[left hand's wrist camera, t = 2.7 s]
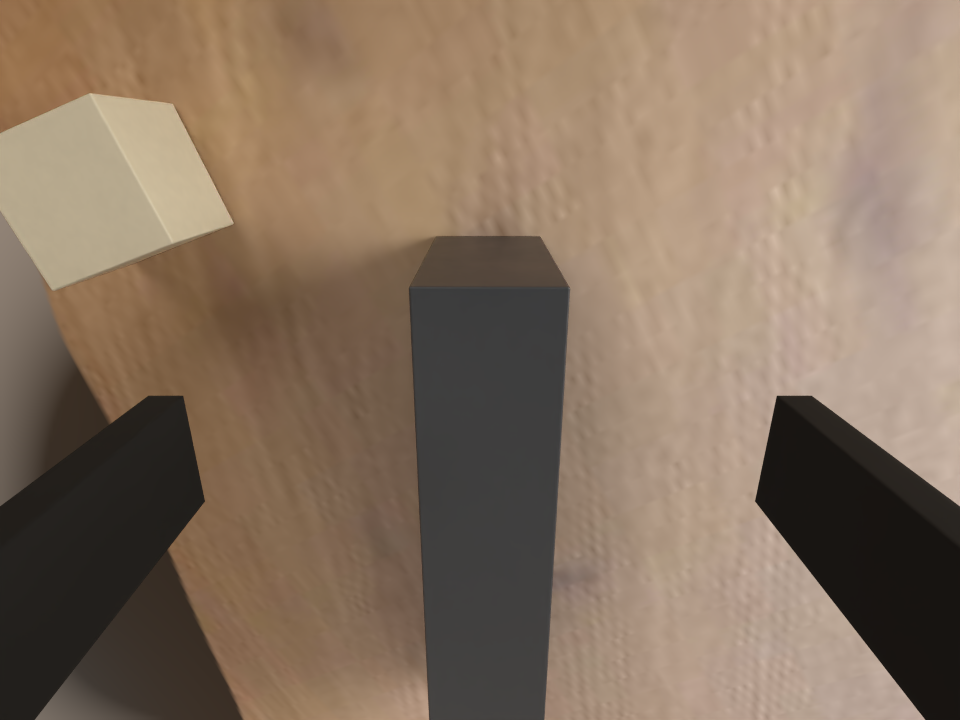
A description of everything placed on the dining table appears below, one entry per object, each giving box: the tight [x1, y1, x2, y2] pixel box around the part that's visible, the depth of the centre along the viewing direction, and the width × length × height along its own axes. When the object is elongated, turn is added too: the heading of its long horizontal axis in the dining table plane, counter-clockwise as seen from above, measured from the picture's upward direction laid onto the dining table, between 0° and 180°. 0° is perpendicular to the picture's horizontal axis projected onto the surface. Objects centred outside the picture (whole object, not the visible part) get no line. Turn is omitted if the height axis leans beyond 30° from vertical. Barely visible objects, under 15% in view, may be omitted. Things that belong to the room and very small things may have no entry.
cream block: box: [0, 93, 234, 291], centre depth 21 cm, size 5×5×5 cm
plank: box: [409, 236, 570, 720], centre depth 24 cm, size 24×4×9 cm, turn 0°
